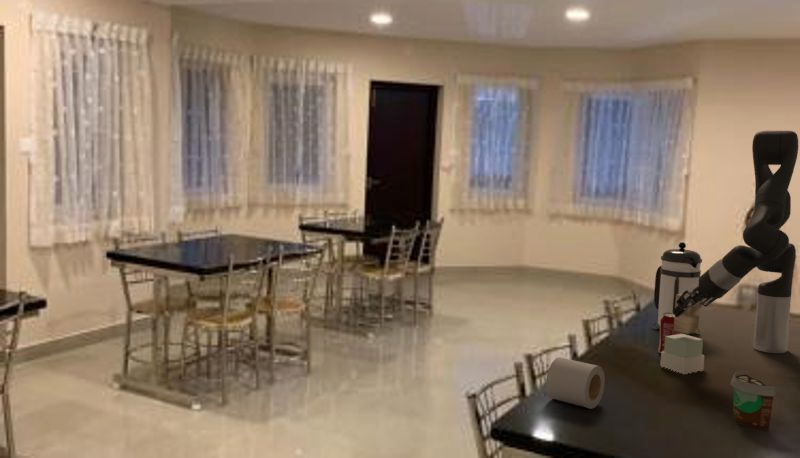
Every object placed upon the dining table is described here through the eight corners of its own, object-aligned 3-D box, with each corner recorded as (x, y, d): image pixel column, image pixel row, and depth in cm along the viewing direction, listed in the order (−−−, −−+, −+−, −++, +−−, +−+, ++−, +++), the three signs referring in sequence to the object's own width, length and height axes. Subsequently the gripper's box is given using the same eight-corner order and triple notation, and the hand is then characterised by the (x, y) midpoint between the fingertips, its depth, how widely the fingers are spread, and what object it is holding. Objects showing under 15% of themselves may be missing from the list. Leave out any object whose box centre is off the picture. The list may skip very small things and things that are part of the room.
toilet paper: (544, 403, 186) (547, 361, 185) (565, 393, 194) (567, 353, 193) (583, 413, 180) (586, 370, 179) (603, 403, 188) (605, 362, 187)
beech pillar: (684, 328, 220) (686, 293, 219) (697, 332, 216) (700, 296, 215) (673, 330, 218) (676, 294, 217) (686, 333, 214) (689, 297, 213)
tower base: (679, 364, 224) (680, 348, 224) (703, 371, 217) (704, 355, 217) (660, 367, 220) (661, 351, 219) (683, 375, 213) (684, 359, 213)
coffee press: (705, 330, 265) (711, 242, 262) (694, 339, 252) (701, 246, 248) (652, 322, 275) (658, 237, 271) (640, 331, 261) (645, 241, 258)
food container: (717, 412, 183) (721, 370, 182) (743, 412, 184) (746, 370, 183) (745, 432, 171) (749, 387, 170) (772, 431, 172) (776, 387, 170)
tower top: (680, 349, 223) (681, 333, 222) (701, 355, 217) (703, 339, 216) (664, 352, 219) (665, 336, 219) (685, 358, 213) (686, 342, 213)
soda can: (683, 358, 229) (686, 317, 228) (659, 356, 231) (662, 316, 229) (680, 352, 236) (683, 312, 235) (656, 350, 237) (659, 311, 236)
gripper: (731, 264, 212) (690, 300, 224) (695, 267, 205) (656, 304, 217) (747, 287, 209) (705, 322, 220) (711, 291, 201) (670, 327, 213)
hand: (681, 313), depth 218 cm, fingers closed on beech pillar, 4 cm apart
